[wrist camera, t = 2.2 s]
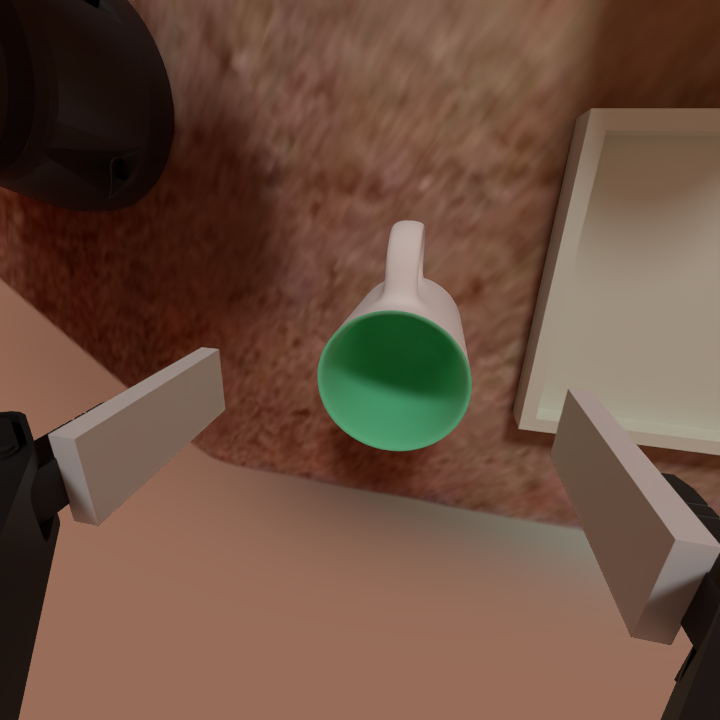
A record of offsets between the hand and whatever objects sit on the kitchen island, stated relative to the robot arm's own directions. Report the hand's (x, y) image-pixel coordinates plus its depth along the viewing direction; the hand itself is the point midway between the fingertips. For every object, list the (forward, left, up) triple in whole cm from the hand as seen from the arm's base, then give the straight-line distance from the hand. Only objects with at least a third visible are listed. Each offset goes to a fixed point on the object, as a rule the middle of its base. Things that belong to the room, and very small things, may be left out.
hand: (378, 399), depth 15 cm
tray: (+18, +2, -16) cm, 24 cm away
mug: (0, 0, -16) cm, 16 cm away
